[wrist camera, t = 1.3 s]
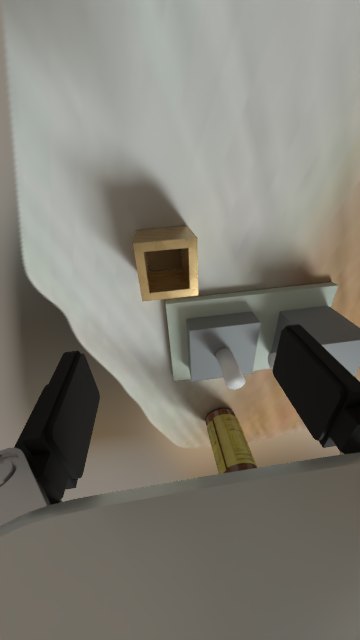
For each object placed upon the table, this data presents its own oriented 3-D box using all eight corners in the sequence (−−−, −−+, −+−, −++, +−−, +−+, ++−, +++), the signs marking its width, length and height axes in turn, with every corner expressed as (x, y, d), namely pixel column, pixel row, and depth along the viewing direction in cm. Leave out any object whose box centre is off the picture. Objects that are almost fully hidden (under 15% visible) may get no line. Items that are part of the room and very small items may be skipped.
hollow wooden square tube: (136, 229, 24) (132, 243, 19) (187, 225, 24) (197, 237, 19) (143, 278, 27) (142, 301, 22) (189, 273, 27) (198, 295, 22)
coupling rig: (165, 299, 29) (170, 342, 21) (331, 281, 30) (392, 315, 23) (173, 375, 37) (179, 426, 29) (306, 358, 38) (345, 402, 31)
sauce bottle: (217, 429, 47) (255, 569, 30) (198, 418, 44) (228, 565, 27) (242, 413, 45) (298, 553, 28) (224, 401, 42) (274, 548, 25)
